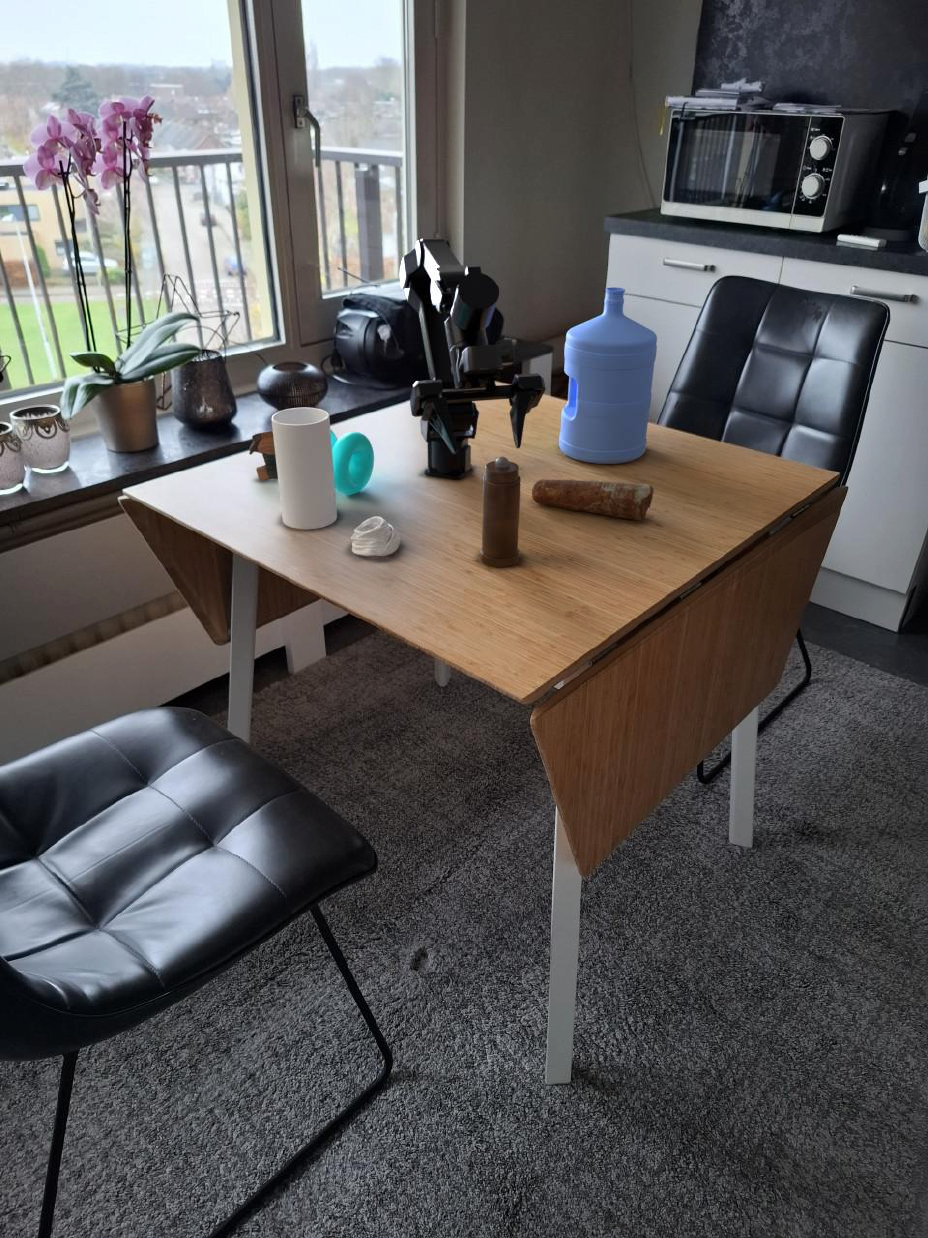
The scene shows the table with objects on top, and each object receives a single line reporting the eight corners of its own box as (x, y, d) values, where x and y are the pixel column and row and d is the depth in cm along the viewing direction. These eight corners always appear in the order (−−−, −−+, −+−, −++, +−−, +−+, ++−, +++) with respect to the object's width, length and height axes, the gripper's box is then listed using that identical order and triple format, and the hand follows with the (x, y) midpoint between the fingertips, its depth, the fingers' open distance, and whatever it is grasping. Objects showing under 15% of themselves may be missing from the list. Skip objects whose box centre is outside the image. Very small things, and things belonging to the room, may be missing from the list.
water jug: (658, 445, 163) (677, 286, 148) (623, 472, 151) (640, 302, 137) (581, 431, 170) (592, 277, 155) (543, 455, 158) (551, 291, 144)
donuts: (343, 505, 139) (339, 444, 134) (293, 492, 143) (287, 433, 138) (379, 484, 146) (376, 425, 141) (330, 473, 151) (325, 416, 146)
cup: (346, 511, 137) (338, 410, 129) (321, 532, 130) (312, 427, 122) (298, 504, 139) (288, 404, 131) (272, 525, 132) (260, 421, 124)
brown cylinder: (645, 528, 132) (649, 493, 129) (526, 507, 139) (527, 473, 136) (655, 512, 137) (659, 478, 134) (540, 493, 143) (541, 460, 141)
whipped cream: (389, 569, 122) (390, 539, 119) (342, 561, 123) (342, 531, 120) (403, 541, 128) (404, 511, 126) (358, 533, 129) (359, 504, 126)
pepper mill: (474, 563, 122) (475, 460, 114) (488, 547, 126) (490, 447, 118) (511, 570, 120) (515, 466, 112) (524, 553, 124) (528, 452, 117)
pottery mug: (241, 483, 148) (235, 434, 148) (271, 488, 157) (266, 442, 156) (303, 472, 144) (298, 422, 143) (331, 478, 152) (326, 431, 152)
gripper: (411, 321, 117) (429, 428, 114) (545, 314, 121) (566, 417, 117) (403, 365, 128) (419, 464, 124) (526, 358, 131) (545, 454, 128)
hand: (487, 449), depth 123 cm, fingers open, 9 cm apart
